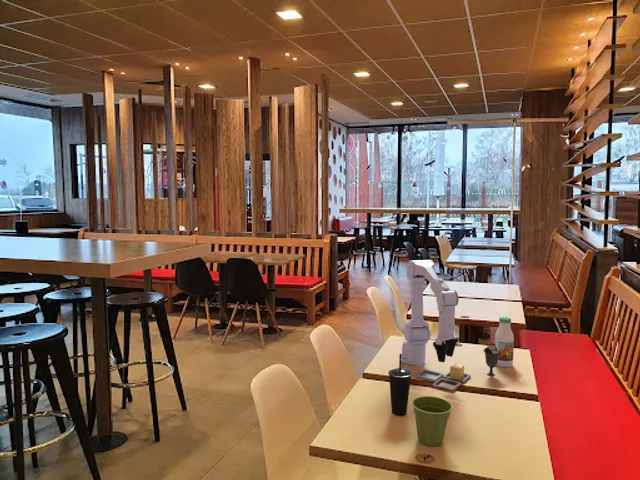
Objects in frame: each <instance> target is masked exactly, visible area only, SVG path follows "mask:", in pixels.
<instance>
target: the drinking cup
mask: <svg viewBox="0 0 640 480" xmlns="http://www.w3.org/2000/svg"><path fill="white" fill-rule="evenodd" d="M401 361H402V353H399V360H398V362H399V363H398V368H392V369H389V371H388V373H387V374H388V376H389V378H388V379H389V391H390V392H389V393H390V406H391V414H392V415H394V416H396V417H403V416H406V415H407V413H408V404H409V395H410V388H411V380H412V379H411V378H412V376H413V373H412V372H411V371H410V370H408V369H406V368H402V363H401Z"/></svg>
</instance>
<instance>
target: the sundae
mask: <svg viewBox="0 0 640 480" xmlns="http://www.w3.org/2000/svg"><path fill="white" fill-rule="evenodd" d="M494 342H495V337H493V340H492V342H490V343H489V344H488V345H487V346H486V347H485V348H484V349H483V350H482V351H483V352H484V356H485V364H486V365H487V366H488V368H489V371H488V373H486V376H488V377H496V374H494V372H493V371H494V368H495V367H496V366H497V362H498V357H499V354H501V351H499V350H498V348H497V347H496V344H494Z"/></svg>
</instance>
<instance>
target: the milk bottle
mask: <svg viewBox="0 0 640 480" xmlns="http://www.w3.org/2000/svg"><path fill="white" fill-rule="evenodd" d="M498 323H499V326H498V327H497V330H496V332H495V334H494V338H495V342H494V341H493V344H496V347H497V348H498V350H499V351H501V354H499V357H498V362H497V365H496V366H497V367H500V368H511V367H513V365H514V355H515V353H514V351H515V350H514V349H515V348H514V347H515V337H514V333H513V330H512V328H511V324H512V318H511V317H508V316H499V319H498Z"/></svg>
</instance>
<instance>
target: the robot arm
mask: <svg viewBox="0 0 640 480" xmlns="http://www.w3.org/2000/svg"><path fill="white" fill-rule="evenodd" d="M406 276H407V277H406V279H407V280H409V281H410V311H411V315H410V317H411V319H409V320H408V321H407V322H406V323H404V324H405V325H404V331H403V336H404V339H405V340H404V341H403V342H402V346H401V354H402V359H401V364H402V363H403V364H407V365H411V366H417V367H423V366H425V365H426V364H427V363H430V361H429V360H426V354H427V353H426V349H427V348H426V346H427V344H428V342H429V341H430V340H431V335H432V334H431V329H430V324H429V323H428V322H427V321H426V320H424V296H423V295H424V292H423V291H424V289H423V282H424V281H425V280H427V281H428V282H429V283H430V284H429V285H430V286H429V288H430V290H431V291H432V293H434V295H435V297H436V298H435V299H436V304H437V311H438V328H437V329H438V331H437V332H438V333H437V335H436V338H435V340H434V341H433V342H432V346H433V348H434V350H435V352H436V357H437V361H438V362H439V363H445V361H446V357H450V358H452V357H453V356H454V352H455V348H456V347H457V343H458V342H459V339H460V338H459V337H458V335H457V330H455V326H456V325H455V323H456V322H455V321H456V320H455V319H456V317H455V316H456V306H458V305H459V294H458V292H457V290H456V289H450V287H449V286H448V284H447V282H445V280H444V279H443V278H439V276H438V275H437V273H436V271H435V263H434V261H433V260H432V259H417V260H412V259H411V260H410V259H409V261H408V262H407V264H406Z"/></svg>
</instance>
